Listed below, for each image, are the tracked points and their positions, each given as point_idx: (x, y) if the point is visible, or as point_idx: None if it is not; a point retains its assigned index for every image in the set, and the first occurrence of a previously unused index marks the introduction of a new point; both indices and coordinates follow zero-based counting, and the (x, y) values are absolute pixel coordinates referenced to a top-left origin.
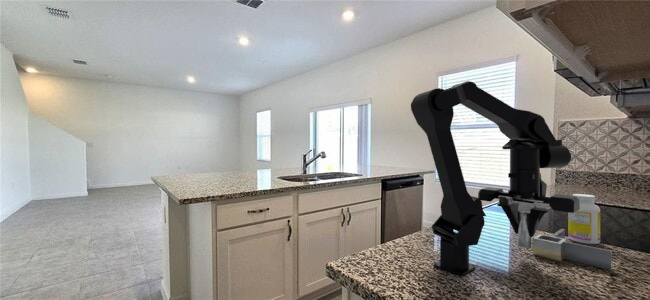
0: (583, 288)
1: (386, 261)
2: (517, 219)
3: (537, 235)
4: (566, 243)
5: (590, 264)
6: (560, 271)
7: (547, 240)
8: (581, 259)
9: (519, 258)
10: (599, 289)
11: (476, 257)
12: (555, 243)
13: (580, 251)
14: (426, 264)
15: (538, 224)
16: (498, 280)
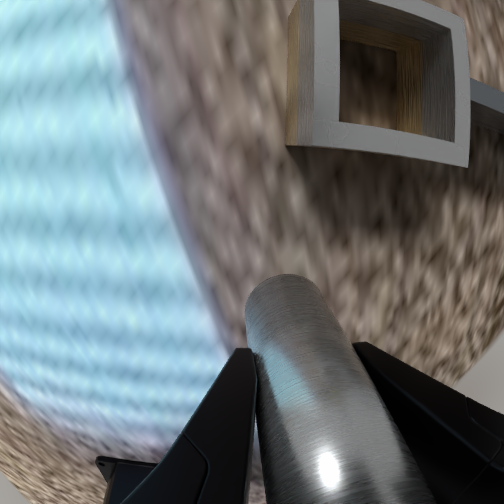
0: (443, 375)
1: (61, 500)
2: (250, 461)
3: (316, 27)
4: (477, 104)
5: (485, 127)
6: (409, 299)
7: (404, 133)
8: (474, 120)
9: (249, 277)
10: (473, 347)
11: (123, 397)
12: (444, 162)
13: (497, 120)
14: (102, 490)
15: (450, 392)
16: (261, 478)
